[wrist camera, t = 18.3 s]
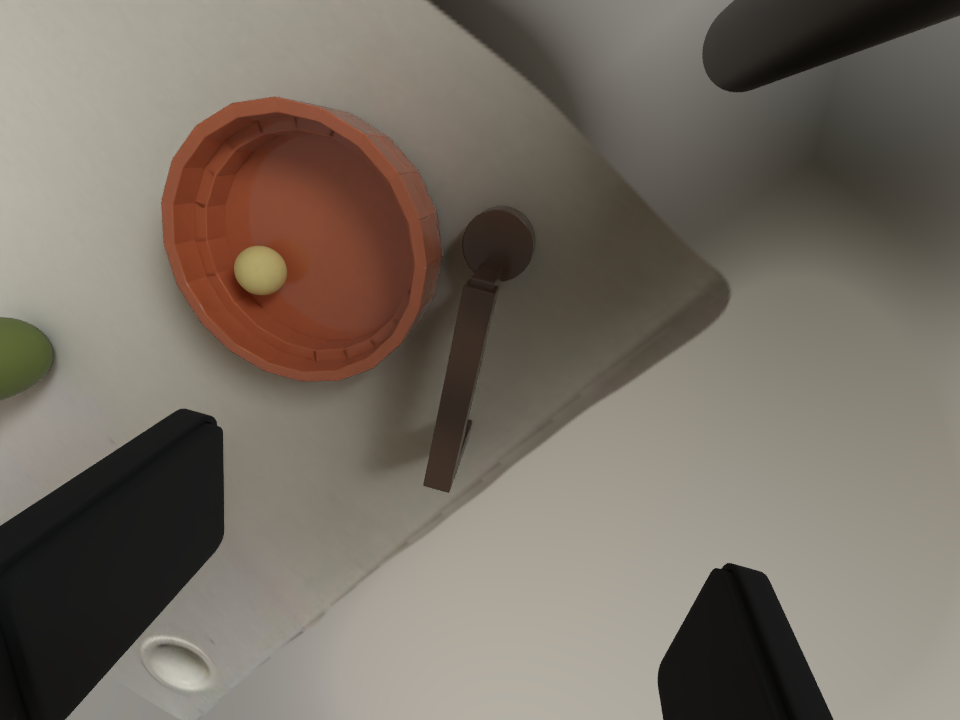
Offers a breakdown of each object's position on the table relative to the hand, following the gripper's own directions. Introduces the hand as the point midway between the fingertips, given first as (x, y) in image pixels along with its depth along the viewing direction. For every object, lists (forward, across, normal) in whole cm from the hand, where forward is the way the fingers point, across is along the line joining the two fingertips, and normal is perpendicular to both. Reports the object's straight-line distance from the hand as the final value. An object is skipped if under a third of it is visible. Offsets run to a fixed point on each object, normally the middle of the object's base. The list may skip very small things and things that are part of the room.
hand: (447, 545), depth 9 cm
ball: (+20, +16, +3) cm, 26 cm away
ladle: (+23, +2, +5) cm, 23 cm away
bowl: (+23, +13, +1) cm, 26 cm away
